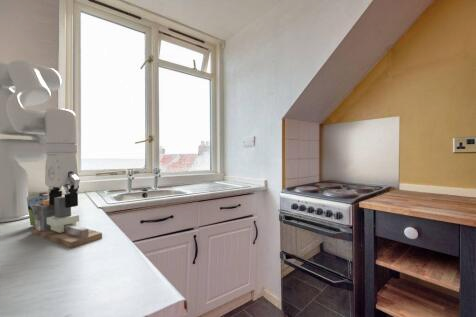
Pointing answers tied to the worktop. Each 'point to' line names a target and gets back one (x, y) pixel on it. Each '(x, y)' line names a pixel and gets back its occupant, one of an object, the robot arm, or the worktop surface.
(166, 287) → the worktop surface
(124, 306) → the worktop surface
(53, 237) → the rail bench
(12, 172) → the robot arm
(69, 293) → the worktop surface
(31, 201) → the beverage can
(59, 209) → the carriage
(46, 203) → the plunger
